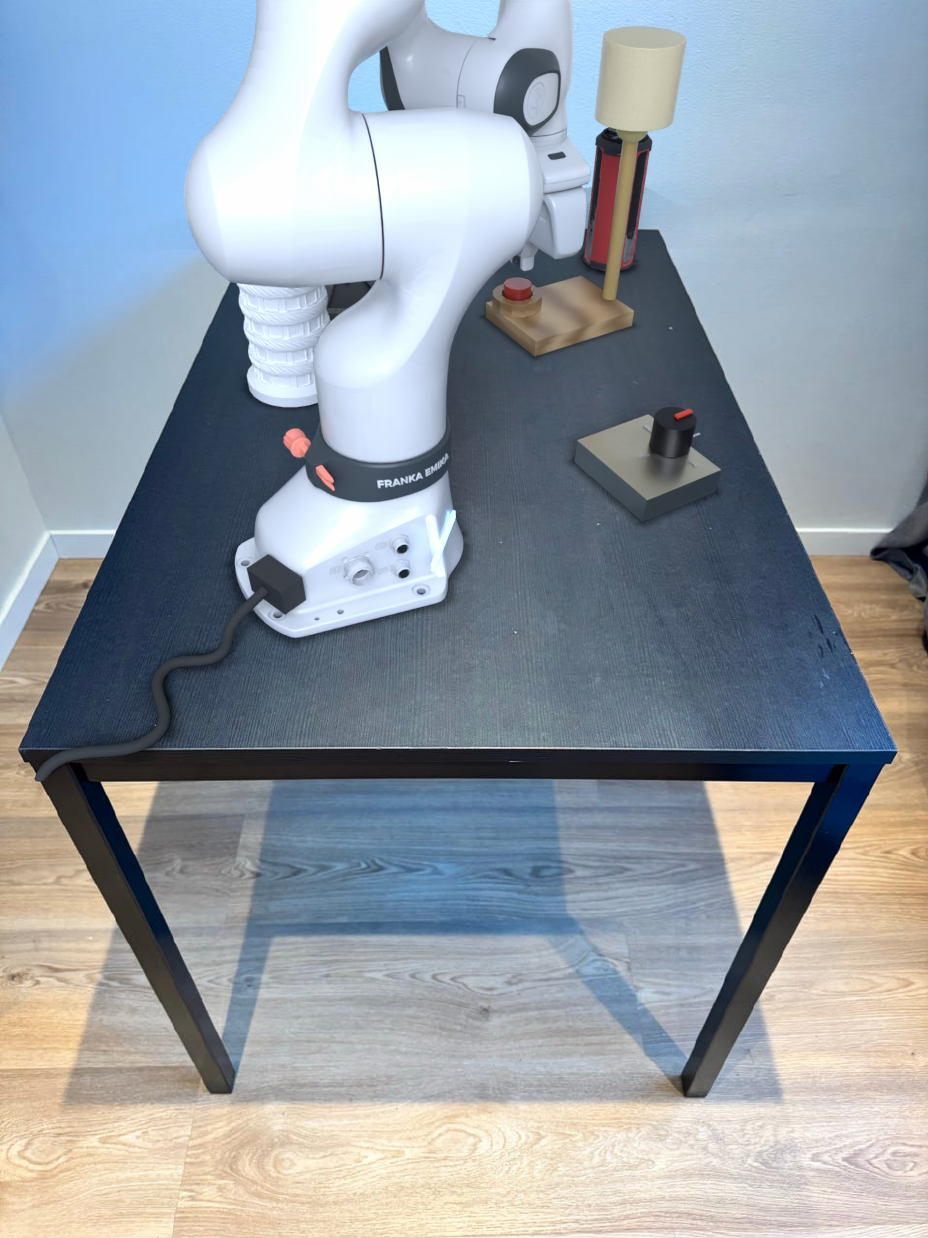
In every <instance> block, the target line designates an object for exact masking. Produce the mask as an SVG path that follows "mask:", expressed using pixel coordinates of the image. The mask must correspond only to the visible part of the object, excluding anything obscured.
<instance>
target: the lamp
mask: <svg viewBox="0 0 928 1238" xmlns="http://www.w3.org/2000/svg"><path fill="white" fill-rule="evenodd" d="M601 41H602V42H601V52H600V60H599V70H598V79H597V86H596V88H597V89H596V98H595V107H594V120H595V121H596V122H597V123H599V124H601V125H603V126H605V127H606V128H608V127H610V128H614V129H616V131H617V134H618V136H619V137H620V138H621V139H622V140H623V143H622V151H621V159H620V166H619V174H618V182H617V189H616V197H615V205H614V212H613V220H612V228H611V235H610V243H609V250H608V258H607V266H606V271H605V276H604V283H603V289H602V290H603V298H604V299H606V300H614V299H615V298H616V299H617V295H618V294H617V293H618V288H619V281H620V280H619V279H620V273H621V271H620V267H621V260H622V253H623V246H624V239H625V232H626V225H627V218H628V211H629V204H630V197H631V190H632V183H633V176H634V169H635V162H636V154H637V147H638V141H640V140H642V139H643V138H644V137H645V136H646V135H647V134H649V132H655V131H660V130H664V129H667V128H668V127H670V126H672V124H673V123H674V121H675V114H676V107H677V101H678V97H679V96H678V95H679V89H680V84H681V78H682V71H683V66H684V61H685V60H684V59H685V54H686V47H687V42H688V39H687V37H686V36H685V35H683V34H682V33H680V32H678V31H675V30H672V29H667V28H662V27H655V26H644V25H643V26H642V25H641V26H640V25H639V26H637V25H636V26H635V25H634V26H633V25H632V26H622V27H616V28H615V27H614V28H611V29H608V30H606V31H604V32H603V34H602V40H601Z"/></svg>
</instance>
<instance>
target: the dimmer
mask: <svg viewBox="0 0 928 1238" xmlns="http://www.w3.org/2000/svg"><path fill="white" fill-rule="evenodd" d="M653 421H654V416H652V415H650V413H649V414H648V413H647V414H644V415H642V416H639V417H637V418H634V419H632V420H629V421H626V422H623V423H620V424H617V425H615V426H612V427H609V428H607V429H604V430H601V431H599V432H595V433H593V434H590V435H587V436H585V437H582V438H579V439H577V440H576V446H575V453H574V454H575V455H574V464H576V465H577V466H578V467H579V468H580V469H581V470H582V471H583V472H584V473H586V474H587V475H588V476H589V477H590V478H592V480H594V481H595V482H596V483H597V484H598V485H599V486H601V487H602V488H603V489H604V490H605V491H606V492H607V493H608V494H609V495H611V496H612V497H613V498H614V499H615V500H616V501H617V502H618V503H619V504H621V505H622V506H623V507H624V508H625V509H626V510H627V511H629V512H630V513H631V514H632V515H633V516H634V517H636V518H637V519H638V520H639V521H640V522H641V523H645V522H648V521H649V520H652V519H655V518H656V517H659V516H662V515H664V514H666V513H668V512H669V513H670V512H671V511H674V510H676V509H678V508H681V507H683V506H685V505H689V504H690V503H692V502H693V503H694V502H695V501H697V500H700V499H702V498H704V497H707V496H709V495H711V494H714V493H716V490H717V486H718V482H719V479H720V476H721V471H722V469H721V468H720V467H718V466H717V465H715V464H714V463H713V462H712V461H710V460H709V459H708V458H706V457H705V456H704V455H703V454H701V453H700V452H698V451H697V449H695V448H694V447H692V446H691V447H690V451H689V452H688V453H687V454H686V455H684V456H682V457H677V458H669V457H664V456H661V455H658V454H657V453H655V452H654V451H653V450H652V449H651V448H650V445H649V441H650V436H651V431H652V426H653ZM700 436H702V434H701V433H700V432H697V433H694V435H693V439H695V438H698V437H700Z"/></svg>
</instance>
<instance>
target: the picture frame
mask: <svg viewBox="0 0 928 1238" xmlns="http://www.w3.org/2000/svg"><path fill="white" fill-rule="evenodd" d="M375 282H376V280H371V281H362V282H352V283H343V284H333V285H324V286H325V288H326V290H327V294H328V296H327V297H328V303H327V307H326V309H327V312H328V315H329V317H330V320H331V321H332V320H333V319H334V318H335V317H336V316H338V315H339V314H340V313H342V312H343V311H345V310H346V309H348V308H349V307H351V306H352V305H354V304H355V303H357V302H358V301H359V300H361V299H362V298H363V297H364V296H365V295H366V294H367V293H368V292H369V290H370V289H371V288H372V286H373V285H374V283H375Z"/></svg>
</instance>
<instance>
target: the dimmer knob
mask: <svg viewBox="0 0 928 1238" xmlns="http://www.w3.org/2000/svg"><path fill="white" fill-rule="evenodd" d="M653 418H654V421H653V426H652V431H651V436H650V441H649V445H650V448H651V449H652V450H653V451H654V452H655V453H657V454H658V455H661V456H664V457H669V458H677V457H682V456H684V455H686V454H687V453H688V452H689V451H690V447H692V442H693V440H694V438H693V435H694V434H695V430H696V426H697V422H698V421H697V417H696V416H695V414H694V413H693V410H692V409H691V408H687V409H685V408H682V407H678V406H667V407H666V406H665V407H662V408H660V409H658V410H657V411H656V412H655V414H654V416H653Z"/></svg>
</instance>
